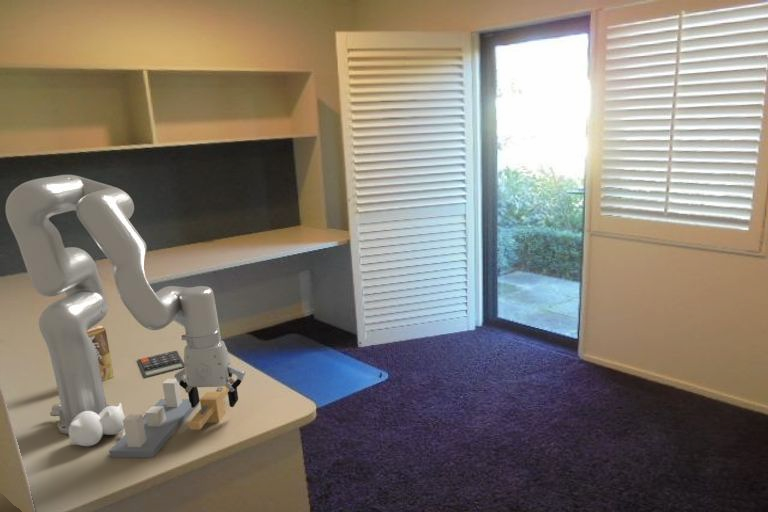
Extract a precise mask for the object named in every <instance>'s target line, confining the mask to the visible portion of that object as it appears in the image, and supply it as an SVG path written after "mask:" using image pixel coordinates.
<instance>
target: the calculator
mask: <svg viewBox="0 0 768 512" xmlns="http://www.w3.org/2000/svg"><path fill="white" fill-rule="evenodd" d="M136 361H137V364H138V366H139V368H141V369H140V370H141V373H143V374H142V376H143V378H144V379H147V378H152V377H156V376H159V375H163V374H166V373H167V374H168V373H170V372H175V371H179V370H182V368H183V369H184V360H183V359H182V358H181V356H180V354H179V353H178V351H177V350H174V351H168V352H165V353H159V354H156V355H153V356H152V355H151V356H148V357H142V358H139V359H137V360H136ZM178 369H179V370H178ZM174 370H175V371H174Z"/></svg>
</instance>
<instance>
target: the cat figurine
mask: <svg viewBox="0 0 768 512" xmlns="http://www.w3.org/2000/svg"><path fill="white" fill-rule="evenodd" d="M125 418H126V417H125V413H124V411H123V405H122V403H121V402H119V403H118V404H117V405H109V406H108V407H106V408H104V409H103V410H102V411H101V412H100V413H99V415H98V414H96V413H95V412H93V411H84V412H81V413H80V414H78V415H77V416H76V417H75V418H74V419H73V420H72V422H71V424H70V426H69V434H68V436H69V445H70V446H71V445H72V446H73V445H78V446H82V447H92V446H95V445H96V444H98V443H99V442H100V441H101V439H102V437H103V436H104V435H106V436H107V435H108V436H109V435H110V436H114V435H117V434H119V433H121V437H120V439H121V438H122V437H123V436H124V435H125V429H124V424H123V420H124V419H125ZM121 431H122V432H121Z"/></svg>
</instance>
